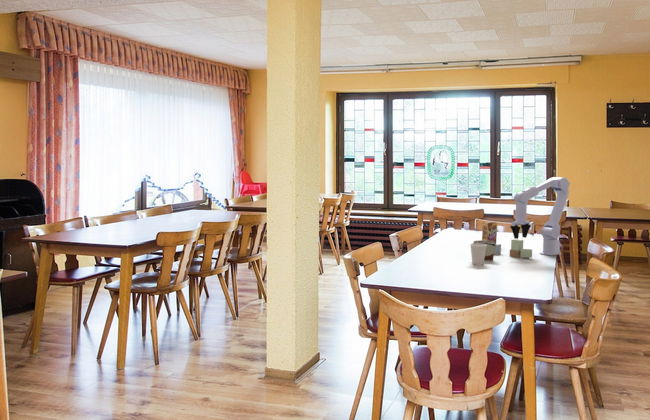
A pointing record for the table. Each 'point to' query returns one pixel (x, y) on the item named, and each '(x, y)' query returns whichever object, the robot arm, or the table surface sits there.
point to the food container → (488, 249)
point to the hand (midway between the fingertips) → (520, 237)
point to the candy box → (489, 231)
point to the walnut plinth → (515, 253)
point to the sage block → (516, 244)
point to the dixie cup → (478, 253)
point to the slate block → (497, 249)
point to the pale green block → (526, 253)
